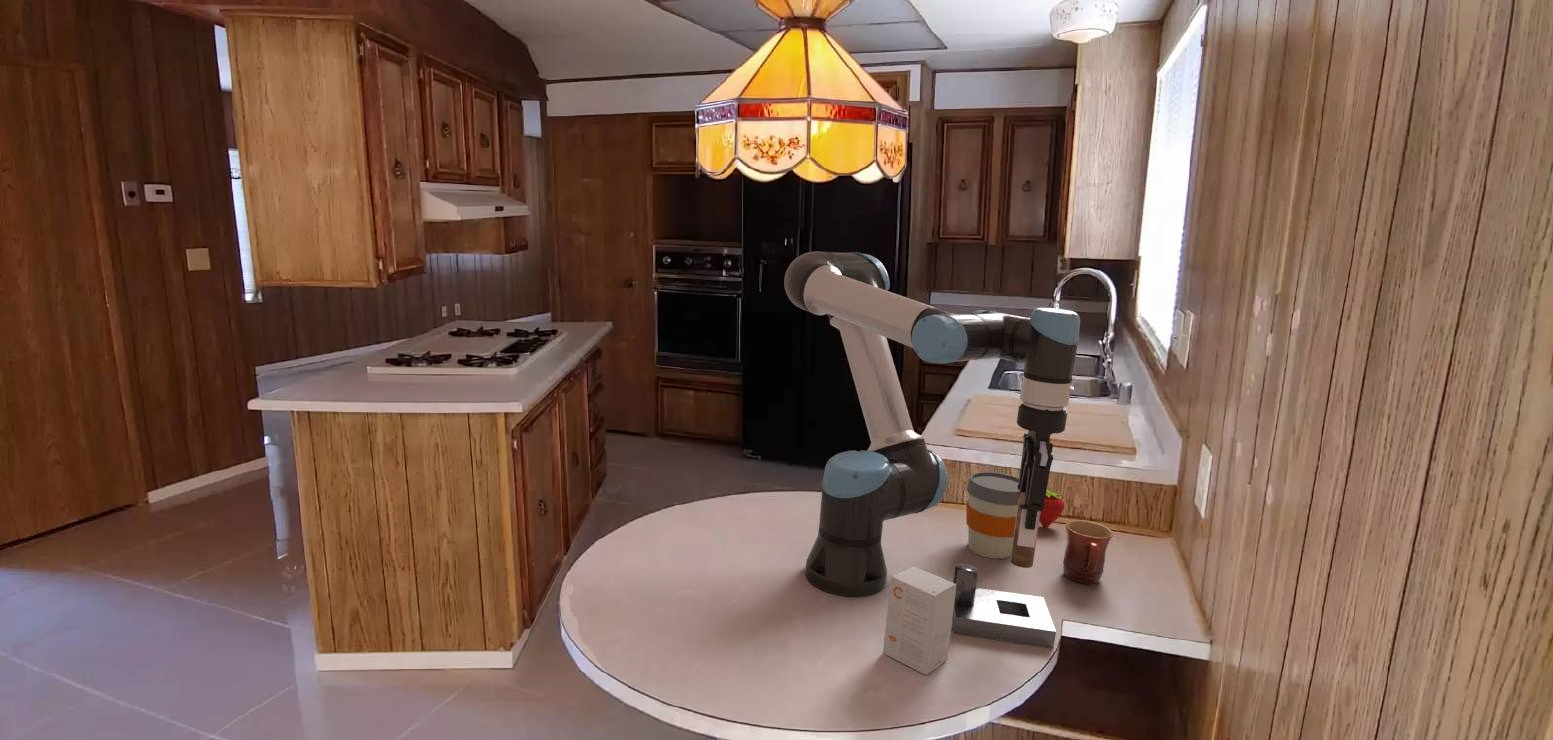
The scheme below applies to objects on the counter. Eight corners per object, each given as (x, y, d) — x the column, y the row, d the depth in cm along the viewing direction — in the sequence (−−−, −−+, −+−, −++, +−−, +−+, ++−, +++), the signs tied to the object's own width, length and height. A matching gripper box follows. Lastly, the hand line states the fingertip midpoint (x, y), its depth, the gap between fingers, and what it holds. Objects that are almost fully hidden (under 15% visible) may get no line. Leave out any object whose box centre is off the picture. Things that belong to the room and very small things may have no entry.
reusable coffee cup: (1025, 566, 161) (1035, 495, 158) (961, 557, 162) (971, 487, 159) (1016, 541, 173) (1026, 475, 170) (957, 533, 174) (966, 468, 172)
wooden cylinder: (1011, 566, 133) (1021, 497, 130) (1009, 557, 136) (1018, 490, 134) (1034, 569, 132) (1044, 500, 130) (1031, 560, 135) (1041, 493, 133)
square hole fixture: (950, 633, 132) (957, 583, 130) (946, 599, 144) (952, 553, 142) (1053, 648, 130) (1061, 597, 128) (1040, 612, 142) (1048, 565, 140)
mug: (1055, 564, 162) (1062, 517, 160) (1100, 571, 161) (1108, 524, 159) (1063, 591, 151) (1072, 540, 149) (1112, 599, 149) (1121, 547, 147)
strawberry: (1023, 521, 185) (1029, 480, 183) (1053, 522, 186) (1059, 481, 184) (1035, 532, 179) (1042, 490, 177) (1066, 532, 180) (1073, 490, 178)
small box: (947, 661, 124) (958, 583, 121) (925, 676, 119) (935, 596, 116) (904, 639, 129) (913, 564, 126) (881, 653, 124) (890, 576, 122)
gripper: (1078, 419, 120) (1056, 564, 125) (1058, 396, 136) (1038, 525, 141) (1027, 414, 121) (1007, 558, 126) (1012, 391, 137) (995, 520, 142)
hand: (1024, 540), depth 133 cm, fingers closed on wooden cylinder, 3 cm apart
